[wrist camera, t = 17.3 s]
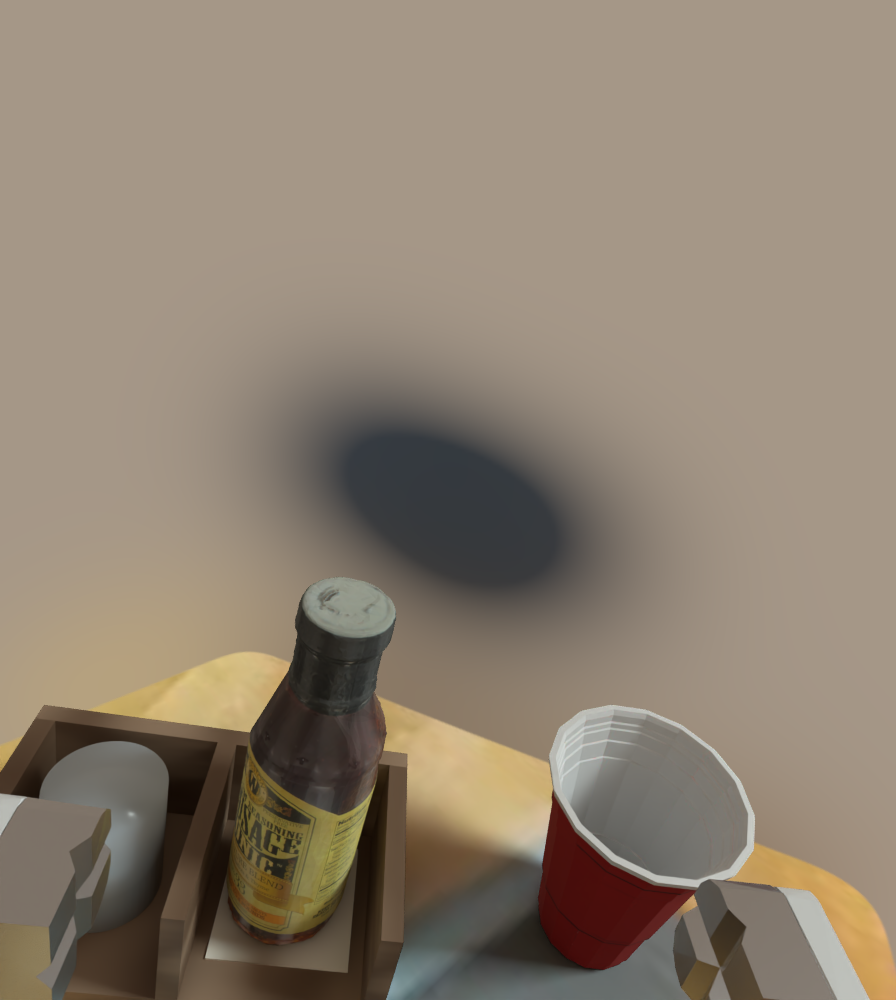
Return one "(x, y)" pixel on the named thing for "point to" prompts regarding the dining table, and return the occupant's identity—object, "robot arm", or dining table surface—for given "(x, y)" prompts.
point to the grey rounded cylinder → (120, 819)
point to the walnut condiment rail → (202, 879)
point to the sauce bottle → (311, 767)
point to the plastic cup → (633, 830)
